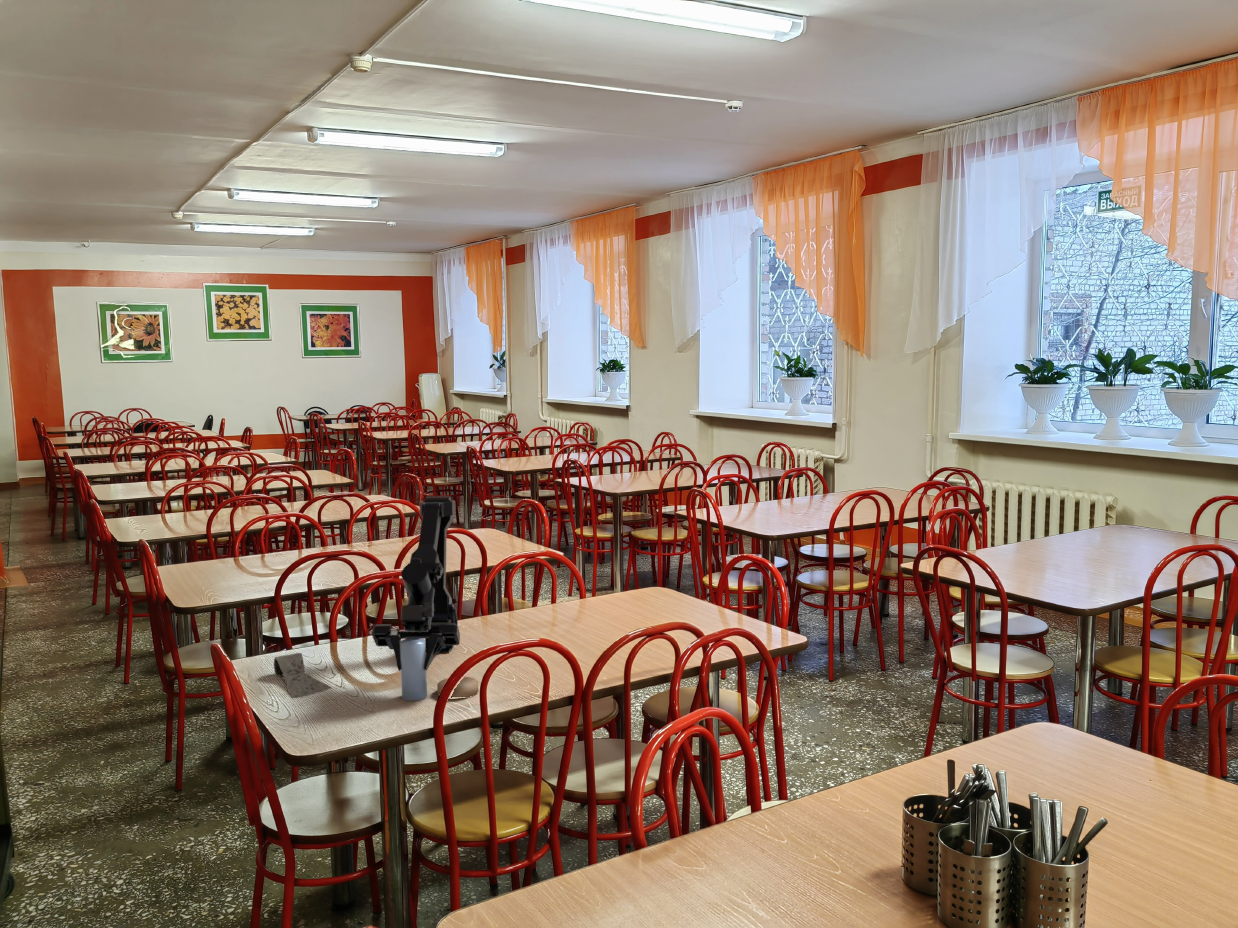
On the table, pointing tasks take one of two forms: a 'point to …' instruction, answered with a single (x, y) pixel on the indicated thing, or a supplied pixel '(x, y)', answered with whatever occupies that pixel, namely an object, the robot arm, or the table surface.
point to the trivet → (462, 687)
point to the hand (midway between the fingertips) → (412, 669)
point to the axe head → (297, 676)
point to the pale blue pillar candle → (413, 669)
